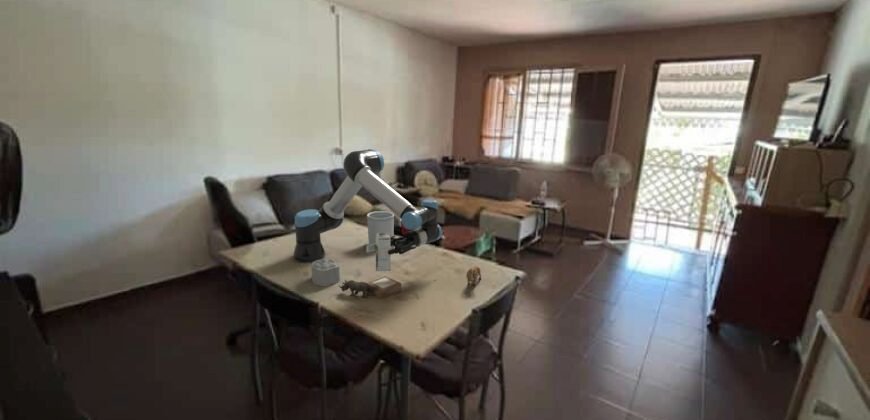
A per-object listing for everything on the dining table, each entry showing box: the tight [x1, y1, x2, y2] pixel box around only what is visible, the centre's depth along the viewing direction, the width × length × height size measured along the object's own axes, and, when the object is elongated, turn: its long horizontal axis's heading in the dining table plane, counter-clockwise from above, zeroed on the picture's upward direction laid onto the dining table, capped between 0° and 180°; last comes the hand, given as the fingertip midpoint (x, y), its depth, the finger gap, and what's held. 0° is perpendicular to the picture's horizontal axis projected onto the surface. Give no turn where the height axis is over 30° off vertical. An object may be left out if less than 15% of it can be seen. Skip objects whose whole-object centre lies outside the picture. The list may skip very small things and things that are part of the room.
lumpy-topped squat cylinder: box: [311, 257, 341, 287], centre depth 167 cm, size 10×13×9 cm
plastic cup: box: [399, 218, 415, 236], centre depth 224 cm, size 11×11×12 cm
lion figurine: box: [466, 265, 482, 288], centre depth 166 cm, size 15×5×9 cm, turn 165°
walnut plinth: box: [366, 276, 402, 300], centre depth 157 cm, size 10×10×4 cm
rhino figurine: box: [338, 279, 372, 299], centre depth 154 cm, size 4×14×6 cm, turn 73°
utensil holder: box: [366, 210, 395, 245], centre depth 212 cm, size 15×15×18 cm
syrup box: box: [375, 233, 392, 272], centre depth 154 cm, size 6×6×14 cm
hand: (373, 251), depth 150 cm, fingers closed on syrup box, 8 cm apart
